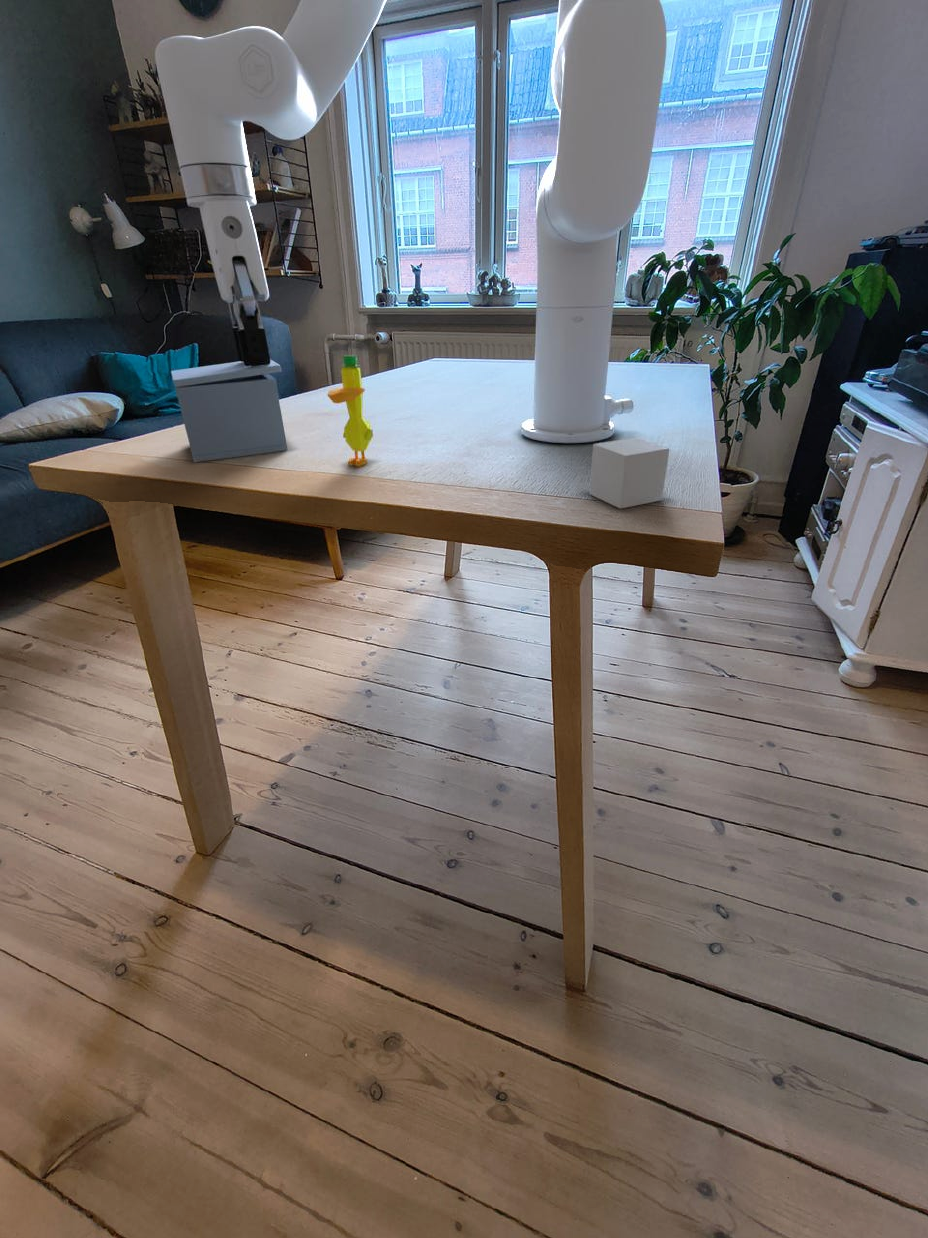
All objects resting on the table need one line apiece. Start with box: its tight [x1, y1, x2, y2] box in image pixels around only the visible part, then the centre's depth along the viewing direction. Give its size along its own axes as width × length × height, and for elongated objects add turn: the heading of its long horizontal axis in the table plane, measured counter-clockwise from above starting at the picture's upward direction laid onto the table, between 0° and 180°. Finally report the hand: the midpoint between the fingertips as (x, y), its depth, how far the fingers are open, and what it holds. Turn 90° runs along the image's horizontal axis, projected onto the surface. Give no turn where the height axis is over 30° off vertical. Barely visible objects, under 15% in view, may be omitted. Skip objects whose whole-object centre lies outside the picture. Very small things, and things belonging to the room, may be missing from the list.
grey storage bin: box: [174, 373, 288, 463], centre depth 78 cm, size 12×10×9 cm
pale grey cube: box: [588, 437, 670, 510], centre depth 57 cm, size 5×5×5 cm
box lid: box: [170, 358, 282, 388], centre depth 74 cm, size 12×10×5 cm
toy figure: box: [326, 355, 374, 467], centre depth 68 cm, size 7×4×12 cm, turn 153°
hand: (254, 361), depth 76 cm, fingers closed on box lid, 5 cm apart
